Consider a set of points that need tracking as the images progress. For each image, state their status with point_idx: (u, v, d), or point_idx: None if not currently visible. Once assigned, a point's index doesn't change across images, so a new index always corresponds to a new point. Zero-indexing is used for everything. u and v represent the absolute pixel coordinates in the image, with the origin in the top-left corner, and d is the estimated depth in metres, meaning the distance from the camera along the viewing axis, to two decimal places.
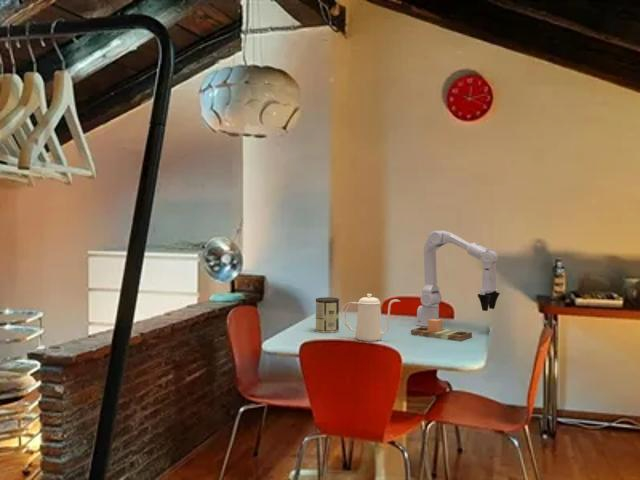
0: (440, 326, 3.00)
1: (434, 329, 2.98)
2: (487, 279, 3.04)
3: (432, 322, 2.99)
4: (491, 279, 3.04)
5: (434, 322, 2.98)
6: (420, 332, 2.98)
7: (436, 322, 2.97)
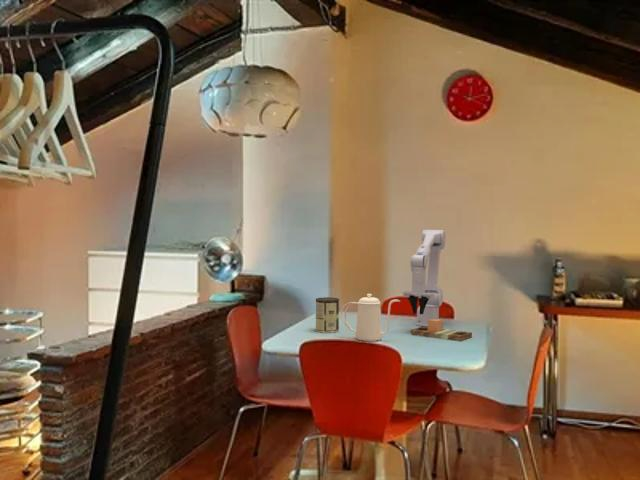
0: (440, 326, 3.00)
1: (434, 329, 2.98)
2: None
3: (432, 322, 2.99)
4: (412, 282, 3.04)
5: (434, 322, 2.98)
6: (420, 332, 2.98)
7: (436, 322, 2.97)
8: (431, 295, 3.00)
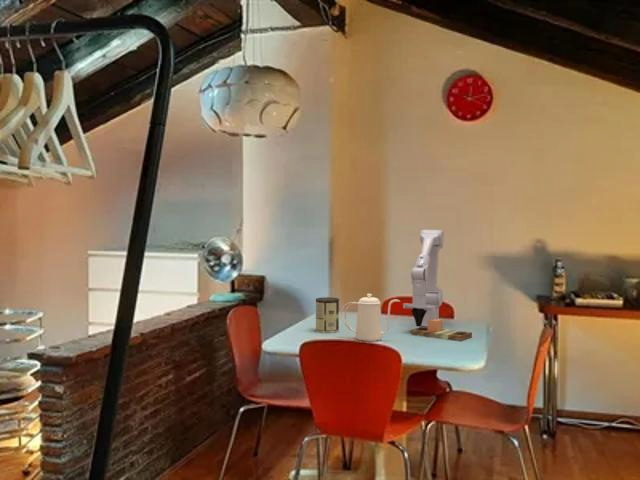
0: (440, 326, 3.00)
1: (434, 329, 2.98)
2: None
3: (432, 322, 2.99)
4: (413, 295, 3.04)
5: (434, 322, 2.98)
6: (420, 332, 2.98)
7: (436, 322, 2.97)
8: (431, 308, 3.00)
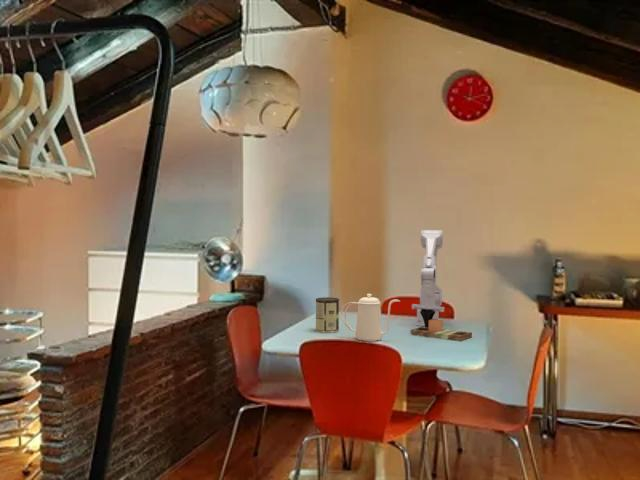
0: (441, 326, 2.99)
1: (435, 329, 2.98)
2: None
3: (433, 322, 2.98)
4: (421, 295, 3.01)
5: (435, 322, 2.98)
6: (420, 332, 2.98)
7: (437, 322, 2.97)
8: (441, 309, 2.97)
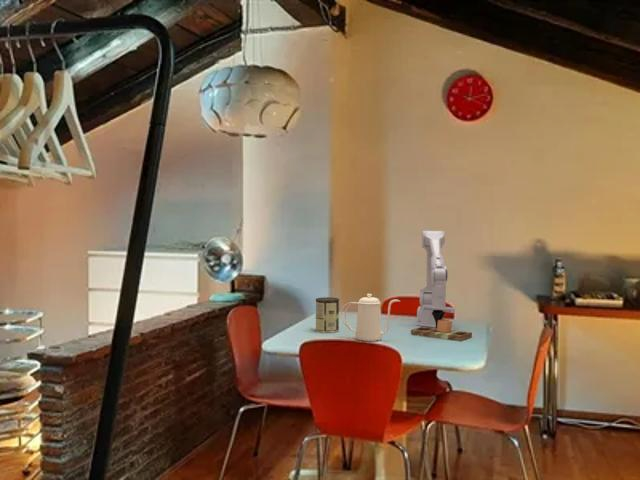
0: (450, 327, 2.97)
1: (443, 330, 2.95)
2: None
3: (442, 322, 2.96)
4: (432, 296, 2.98)
5: (444, 323, 2.95)
6: (420, 332, 2.98)
7: (446, 323, 2.95)
8: (452, 309, 2.94)
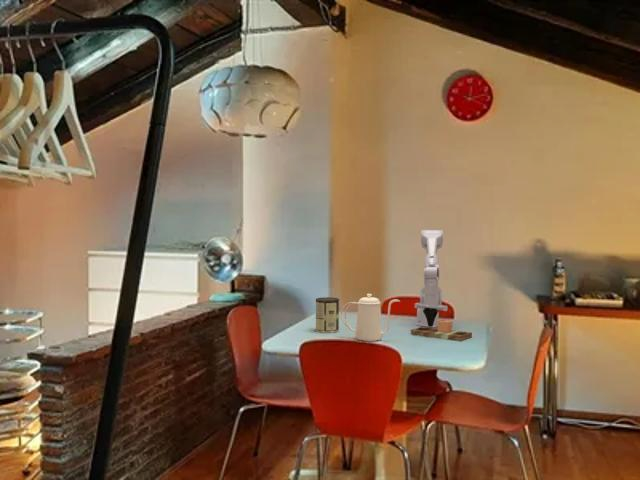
0: (450, 327, 2.97)
1: (444, 330, 2.95)
2: None
3: (442, 323, 2.96)
4: (424, 294, 3.00)
5: (444, 323, 2.95)
6: (420, 332, 2.98)
7: (446, 323, 2.95)
8: (444, 307, 2.96)
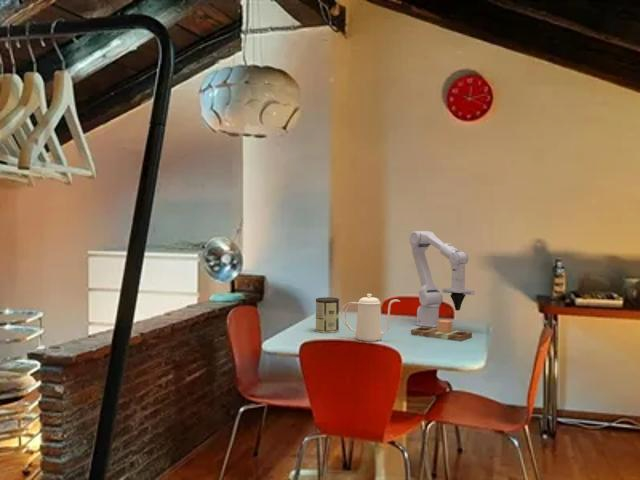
0: (450, 327, 2.97)
1: (444, 330, 2.95)
2: None
3: (442, 323, 2.96)
4: (452, 279, 3.08)
5: (444, 323, 2.95)
6: (420, 332, 2.98)
7: (446, 323, 2.95)
8: (471, 292, 3.04)
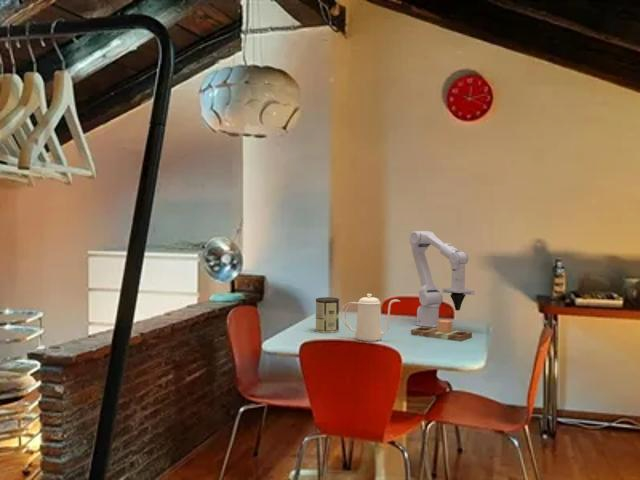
0: (450, 327, 2.97)
1: (444, 330, 2.95)
2: None
3: (442, 323, 2.96)
4: (452, 279, 3.08)
5: (444, 323, 2.95)
6: (420, 332, 2.98)
7: (446, 323, 2.95)
8: (471, 292, 3.04)
